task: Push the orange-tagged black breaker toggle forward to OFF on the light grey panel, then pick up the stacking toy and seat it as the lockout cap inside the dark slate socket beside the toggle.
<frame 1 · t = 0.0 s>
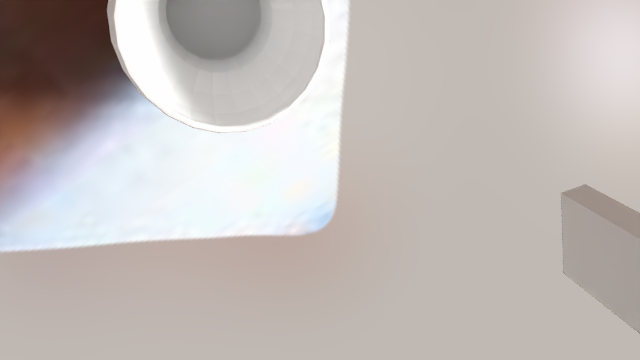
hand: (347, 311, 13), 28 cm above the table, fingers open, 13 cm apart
cup: (211, 9, 36), on the table
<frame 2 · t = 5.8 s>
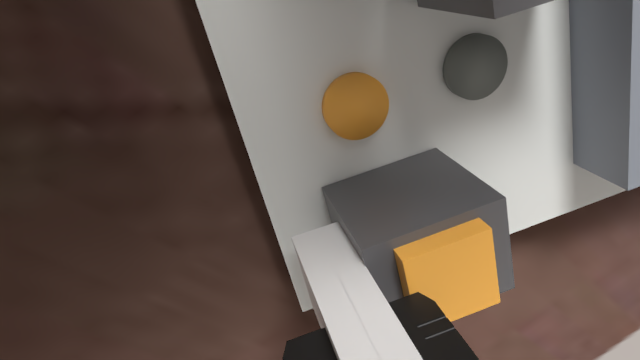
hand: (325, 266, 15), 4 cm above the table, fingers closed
panel: (543, 16, 18), on the table
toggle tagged: (416, 239, 15), point 4 cm above the table, slide at 0.9 cm, touching gripper
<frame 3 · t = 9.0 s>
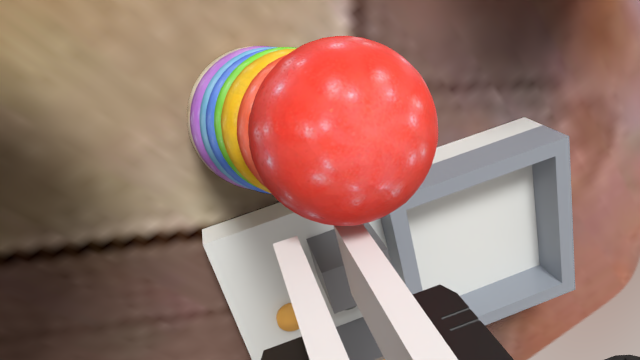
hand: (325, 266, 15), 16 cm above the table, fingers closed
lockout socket: (456, 219, 36), resting on panel
stacking toy: (257, 117, 29), point 1 cm above the table
panel: (389, 256, 36), on the table
toggle 2: (350, 263, 31), point 4 cm above the table, slide at 5.0 cm
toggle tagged: (372, 357, 33), point 4 cm above the table, slide at 4.7 cm
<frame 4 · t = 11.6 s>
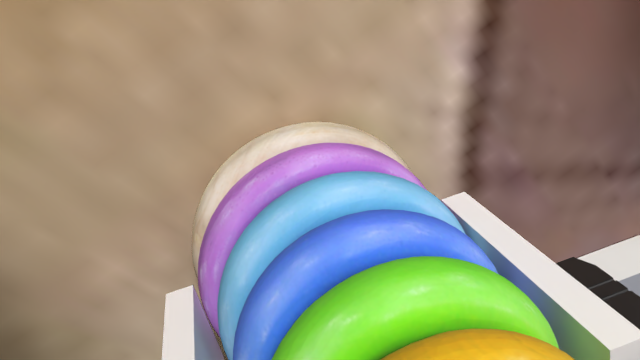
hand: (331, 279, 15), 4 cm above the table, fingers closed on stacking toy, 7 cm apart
stacking toy: (306, 223, 18), on the table, touching gripper
when the fingers open (8 cm above the table, at t = 17.0 s): stacking toy drops 2 cm, resting on panel.
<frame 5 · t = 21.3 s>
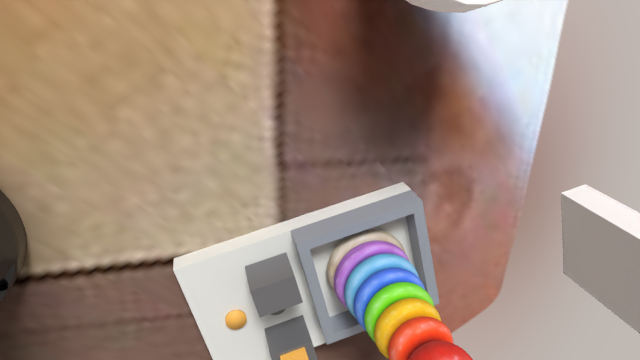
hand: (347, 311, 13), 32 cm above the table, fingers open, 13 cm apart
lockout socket: (358, 251, 51), resting on panel
stacking toy: (363, 260, 49), point 2 cm above the table, touching panel
panel: (309, 277, 51), on the table
toggle 2: (273, 284, 45), point 4 cm above the table, slide at 5.0 cm
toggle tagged: (291, 348, 48), point 4 cm above the table, slide at 4.7 cm
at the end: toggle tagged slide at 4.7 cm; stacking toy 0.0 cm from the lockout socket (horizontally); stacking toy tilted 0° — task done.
